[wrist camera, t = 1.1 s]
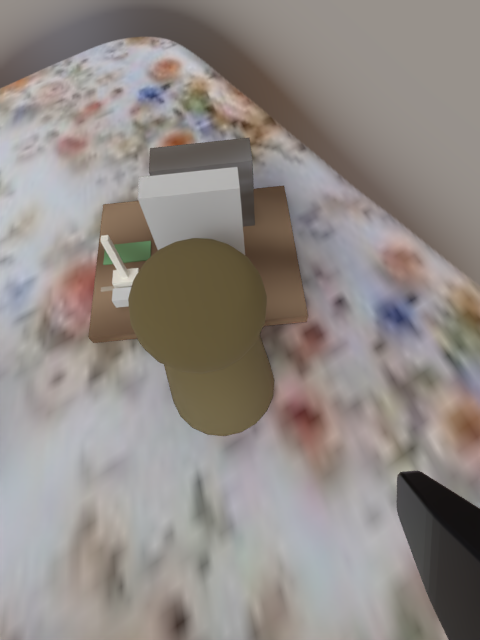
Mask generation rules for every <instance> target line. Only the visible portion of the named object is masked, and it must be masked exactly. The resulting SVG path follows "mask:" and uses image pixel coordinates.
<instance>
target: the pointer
mask: <svg viewBox="0 0 480 640" xmlns="http://www.w3.org/2000/svg"><path fill="white" fill-rule="evenodd" d="M100 242H101V243H102V245H103V247H104V248H105V250H106V252H107V254H108V255H109V257H110V259H111V261H112V262H113V264H114V266H115V268H116V269H117V270H113V278H112V284H113V286H114V288H125V287H132V283H133V280H134V279H135V277H136V275H137V273H138V272H139V268H131V269H126V267H125V265H124V263H123V261H122V259H121V258H120V256H119V254H118V252H117V250H116V248H115V246H114V245H113V243H112V241H111V239H110V237H109V235H103V236H101V241H100Z"/></svg>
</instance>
